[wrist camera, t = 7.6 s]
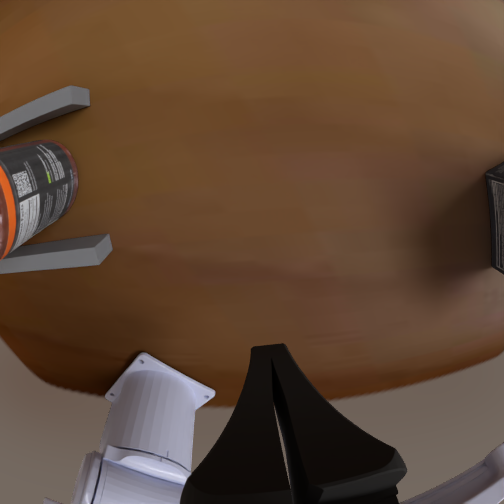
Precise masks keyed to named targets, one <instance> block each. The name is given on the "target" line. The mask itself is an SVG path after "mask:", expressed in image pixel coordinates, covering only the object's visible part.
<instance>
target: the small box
mask: <svg viewBox="0 0 504 504" xmlns="http://www.w3.org/2000/svg"><path fill="white" fill-rule="evenodd" d="M486 182H487V190H488V198H489V208H490V220H491V238H492V267H493V268H494V269H496V270H498V271H499V272H501V273H502V274H504V162H503V163H501V164H500V165H498V166H496V167H494V168H493V169H491V170H489V171H487V172H486Z"/></svg>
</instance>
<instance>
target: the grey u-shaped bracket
mask: <svg viewBox="0 0 504 504" xmlns="http://www.w3.org/2000/svg"><path fill="white" fill-rule="evenodd" d="M88 106H90V96H89V89H85V88H81V87H76V86H68V87H65V88H63V89H60V90H58V91H55V92H53V93H50V94H48V95H46V96H43V97H41V98H39V99H36V100H34V101H32V102H30V103H28V104H26V105H23V106H21V107H19V108H17V109H15V110H13V111H11V112H9V113H8V114H6V115H4V116H2V117H0V141H1V140H3V139H5V138H7V137H9V136H12V135H14V134H16V133H18V132H20V131H23V130H25V129H27V128H30V127H32V126H35V125H37V124H39V123H42V122H45V121H47V120H50V119H52V118H55V117H58V116H61V115H63V114H66V113H69V112H72V111H75V110H78V109H81V108H85V107H88ZM112 250H113V249H112V245H111V241H110V236H109V234H103V235H95V236H88V237H80V238H73V239H66V240H59V241H52V242H46V243H39V244H33V245H27V246H20V247H17V248H16V249H15V250H13V251H12V252H11V253H9V254H8V255H7V256H5V257H4V258H3V259H1V260H0V274H3V273H14V272H25V271H36V270H47V269H58V268H69V267H80V266H91V265H100V263H101V262H102V261H103V260H104V259H105V258H106V257H107V255H108V254H109V253H110V252H111V251H112Z"/></svg>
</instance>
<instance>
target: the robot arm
mask: <svg viewBox="0 0 504 504" xmlns="http://www.w3.org/2000/svg"><path fill="white" fill-rule="evenodd" d="M141 360H142V361H141ZM214 396H215V391H214V390H213V389H211V388H209V387H207V386H205V385H203V384H201V383H199V382H197V381H195V380H193V379H191V378H189V377H187V376H185V375H184V374H182V373H180V372H178V371H176V370H175V369H173V368H171V367H169V366H167V365H166V364H164V363H162V362H160V361H159V360H157V359H155V358H154V357H152V356H150V355H149V354H147V353H144V352H142V353H140V354H139V355H138V356H137V357H136V358H135V360H134V361H133V362H132V363H131V364H130V366H129V367H128V368H127V369H126V370H125V371H124V373H123V374H122V375H121V376H120V377H119V379H118V380H117V381H116V382H115V383H114V385H113V386H112V387H111V388H110V389H109V391H108V392H107V393H106V395H105V398H106V399H107V400H108V401H110V402H112V405H111V408H110V411H109V414H108V418H107V421H106V424H105V427H104V431H103V434H102V437H101V441H100V453H99V452H96V451H92V453H88V454H86V455H85V456H84V459H83V461H82V464H81V467H80V470H79V473H78V476H77V480H76V483H75V487H74V491H73V495H72V499H71V504H498V503H499V502H501V501H502V500H503V499H504V442H503V443H502V444H500V445H499V446H498V447H496V448H495V449H494V450H492V451H491V452H490V453H489V454H488V455H487V456H486V457H485V459H484V460H482V461H481V462H479V463H477V464H476V465H474V466H473V467H471V468H469V469H468V470H466V471H464V472H463V473H461V474H459V475H457V476H455V477H454V478H452V479H450V480H448V481H446V482H444V483H443V484H441V485H439V486H436V487H435V488H433V489H430V490H428V491H426V492H424V493H422V494H419V495H417V496H415V497H413V498H410V499H408V500H405V501H403V502H400V503H399V502H398V499H397V497H396V495H397V494H398V490H397V487H396V484H397V483H398V482H399V481H400V480H401V479H402V478H403V477H404V476H405V474H406V473H407V468H406V465H405V463H404V461H403V459H402V458H401V456H400V455H399V453H398V451H397V450H396V449H395V448H393V447H391V446H389V445H387V444H385V443H383V442H382V441H380V440H378V439H376V438H374V437H373V436H371V435H370V434H368V433H366V432H365V431H363V430H362V429H360V428H359V427H358V426H356V425H355V424H353V423H352V422H351V421H350V420H348V419H347V418H346V417H344V416H343V415H342V414H341V413H340V412H338V411H337V410H336V409H335V408H334V407H333V406H332V405H331V404H330V403H329V402H328V401H327V400H326V399H325V398H324V397H323V396H322V395H321V394H320V393H319V392H318V391H317V390H316V388H315V387H314V386H313V385H312V384H311V382H310V381H309V380H308V379H307V377H306V376H305V375H304V373H303V372H302V371H301V369H300V368H299V367H298V365H297V364H296V362H295V360H294V359H293V357H292V356H291V354H290V352H289V350H288V348H287V346H286V345H285V344H284V343H282V344H273V345H264V346H254V347H252V348H251V358H250V364H249V369H248V373H247V376H246V380H245V383H244V387H243V389H242V392H241V395H240V397H239V400H238V402H237V405H236V407H235V409H234V411H233V414H232V416H231V418H230V420H229V422H228V423H227V425H226V427H225V429H224V431H223V432H222V434H221V435H220V437H219V439H218V440H217V442H216V443H215V445H214V446H213V448H212V449H211V450H210V452H209V453H208V454H207V456H206V457H205V458H204V460H203V461H202V462H201V463H200V464H199V466H198V467H197V468H196V469H195V470H194V471H193V472H192V473H191V459H192V444H193V431H194V418H195V410H196V409H198V408H199V407H200V406H202V405H203V404H205V403H206V402H207V401H209V400H210V399H211V398H213V397H214ZM273 402H274V404H273ZM274 406H275V410H276V414H277V418H278V421H279V426H280V430H281V433H282V437H283V441H284V446H285V451H286V458H287V465H288V472H289V479H290V485H289V480H288V476H287V471H286V467H285V462H284V457H283V452H282V448H281V443H280V437H279V432H278V427H277V422H276V416H275V410H274ZM290 487H291V489H290ZM291 494H292V495H291ZM43 504H62V503H59V502H57V501H54V500H51V499H49V498H44V501H43Z"/></svg>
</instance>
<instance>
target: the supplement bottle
mask: <svg viewBox="0 0 504 504" xmlns="http://www.w3.org/2000/svg"><path fill="white" fill-rule="evenodd" d="M77 191H78V171H77V166H76V164H75V161H74V159H73V157H72V155H71V153H70V152H69V151H68V150H67V148H66V147H64V146H63V145H62V144H60V143H58V142H56V141H53V140H38V141H32V142H27V143H22V144H16V145H12V146H7V147H2V148H0V260H1V259H3V258H4V257H5V256H7V255H8V254H9V253H11V252H12V251H13V250H15V249H16V248H17V247H19V246H20V245H21V244H23V243H24V242H26V241H27V240H28V239H30V238H31V237H32V236H34V235H35V234H37V233H38V232H40V231H41V230H43V229H44V228H46V227H47V226H49V225H50V224H52V223H53V222H55V221H56V220H57V219H59V218H60V217H62V216H63V215H64V214H65V213H66V212H67V211H68V210H69V209H70V208H71V206H72V204H73V202H74V200H75V198H76V194H77Z"/></svg>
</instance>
